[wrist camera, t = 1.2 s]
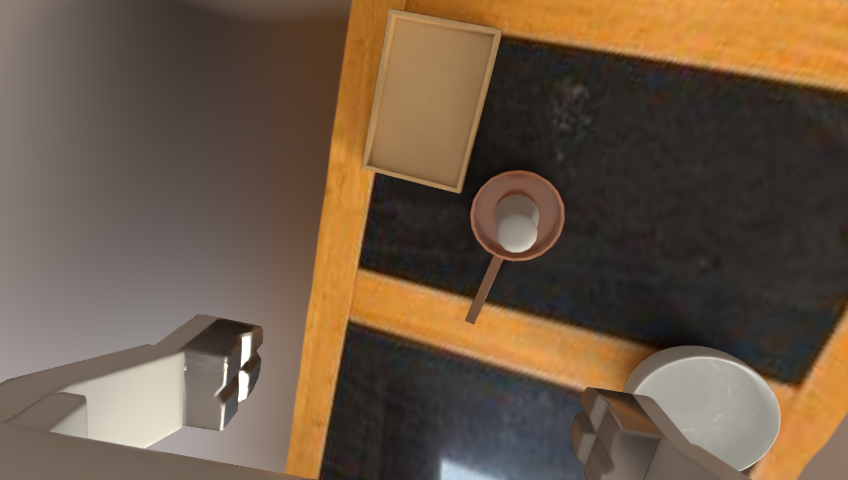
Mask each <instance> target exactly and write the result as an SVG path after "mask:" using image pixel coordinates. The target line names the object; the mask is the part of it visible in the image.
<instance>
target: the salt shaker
mask: <svg viewBox="0 0 848 480" xmlns="http://www.w3.org/2000/svg"><path fill="white" fill-rule="evenodd" d="M539 216H540V215H539V211H538V207H537V205H536V204H535V203H534V202H533V201H532V200H531V199H530V198H528V197H526V196H523V195H521V194H518V195H510V196H508V197H506V198H504V199H502V200H501V201H500V202H499V204H498V205H497V206H496V208H495V212H494V217H493V218H494V222H495V225H496V227H497V231H496V235H497V238H498V242H499V243H500V244H501V245H502V246H503V248H504V249H506V250H508V251H511V252H523V251H525V250H527V249H529V248H530V247H531V246H532V245H533V244H534V242H535V241H536V237H537V232H538V231H537V228H536V227H537V225H538V221H539Z"/></svg>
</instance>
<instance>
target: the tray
mask: <svg viewBox="0 0 848 480" xmlns="http://www.w3.org/2000/svg"><path fill="white" fill-rule="evenodd" d="M500 38H501V29H497V28H491V27H486V26H481V25H475V24H470V23H464V22H459V21H454V20H448V19H443V18H438V17H432V16H427V15H421V14H416V13H411V12H405V11H400V10H395V9H389V13H388V18H387V24H386V30H385V36H384V42H383V47H382V53H381V59H380V65H379V70H378V76H377V82H376V88H375V94H374V99H373V105H372V111H371V117H370V122H369V128H368V134H367V140H366V146H365V151H364V157H363V163H362V169H366V170H370V171H374V172H378V173H382V174H386V175H390V176H394V177H397V178H401V179H405V180H409V181H413V182H417V183H421V184H425V185H428V186H432V187H436V188H440V189H444V190H448V191H452V192H456V193H461V192H462V190H463V186H464V182H465V178H466V174H467V170H468V166H469V162H470V158H471V154H472V150H473V146H474V142H475V138H476V134H477V130H478V126H479V122H480V118H481V114H482V110H483V106H484V102H485V98H486V94H487V90H488V86H489V82H490V78H491V74H492V70H493V66H494V62H495V58H496V54H497V50H498V46H499V42H500Z"/></svg>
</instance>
